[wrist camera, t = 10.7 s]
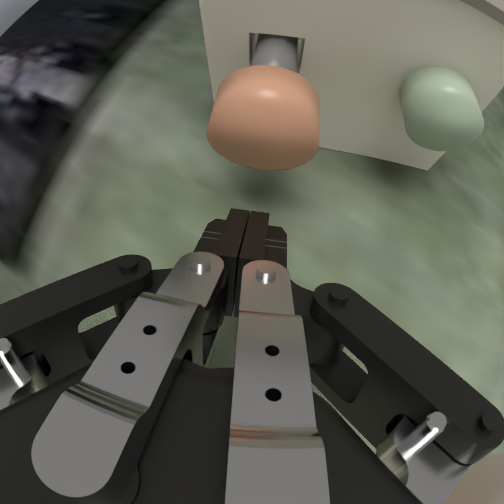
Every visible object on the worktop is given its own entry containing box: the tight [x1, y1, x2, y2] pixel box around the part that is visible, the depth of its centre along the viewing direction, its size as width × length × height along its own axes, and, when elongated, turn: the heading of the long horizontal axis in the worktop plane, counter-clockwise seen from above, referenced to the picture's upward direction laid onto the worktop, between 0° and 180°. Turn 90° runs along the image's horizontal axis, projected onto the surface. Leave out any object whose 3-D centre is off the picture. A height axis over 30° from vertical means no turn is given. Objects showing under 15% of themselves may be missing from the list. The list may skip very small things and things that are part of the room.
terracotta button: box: [207, 33, 320, 170], centre depth 14 cm, size 5×8×5 cm, turn 172°
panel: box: [199, 0, 504, 171], centre depth 16 cm, size 19×4×17 cm, turn 82°
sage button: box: [399, 67, 484, 151], centre depth 15 cm, size 5×8×5 cm, turn 172°
